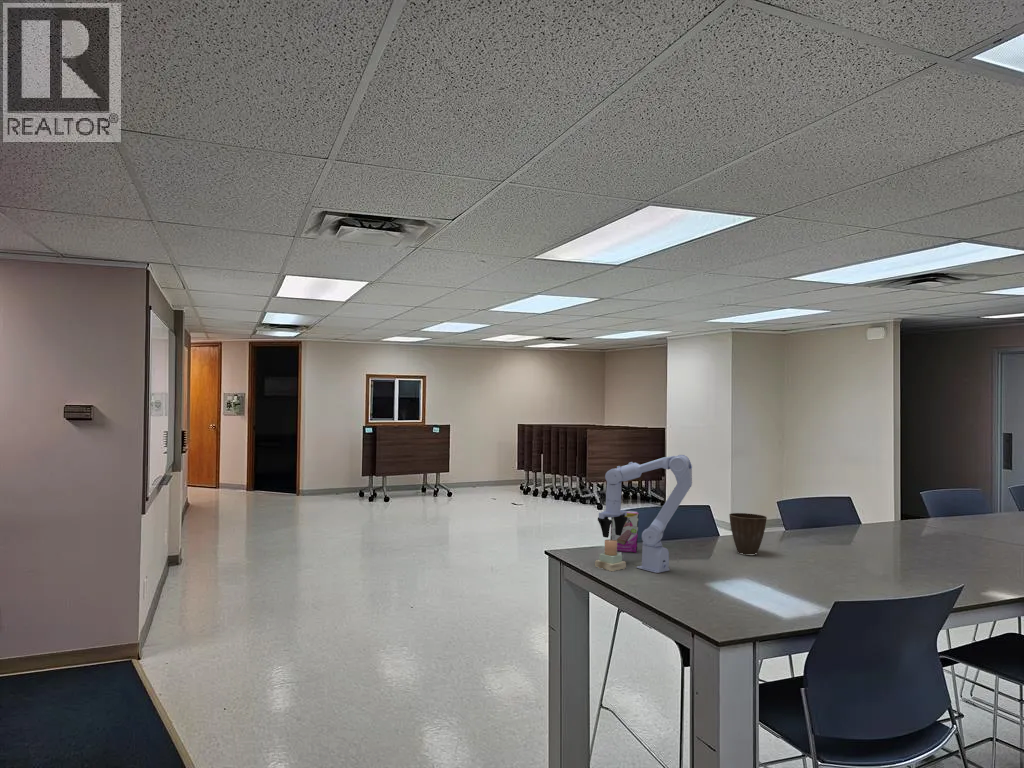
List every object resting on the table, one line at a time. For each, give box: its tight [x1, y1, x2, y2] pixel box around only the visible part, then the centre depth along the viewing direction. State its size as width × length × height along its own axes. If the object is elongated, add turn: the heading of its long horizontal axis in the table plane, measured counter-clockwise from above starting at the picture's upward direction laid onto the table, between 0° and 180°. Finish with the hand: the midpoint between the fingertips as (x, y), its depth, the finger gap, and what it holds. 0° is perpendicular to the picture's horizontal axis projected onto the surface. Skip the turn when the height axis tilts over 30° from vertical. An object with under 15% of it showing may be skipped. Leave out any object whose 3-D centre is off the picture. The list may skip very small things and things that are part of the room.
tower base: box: [594, 559, 627, 572], centre depth 251 cm, size 8×8×3 cm
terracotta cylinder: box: [604, 538, 618, 556], centre depth 251 cm, size 5×5×5 cm
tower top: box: [598, 552, 623, 564], centre depth 251 cm, size 6×6×2 cm
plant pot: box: [728, 512, 768, 554], centre depth 286 cm, size 15×15×16 cm
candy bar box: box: [609, 510, 640, 554], centre depth 281 cm, size 11×5×16 cm, turn 84°
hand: (612, 536), depth 258 cm, fingers open, 7 cm apart
